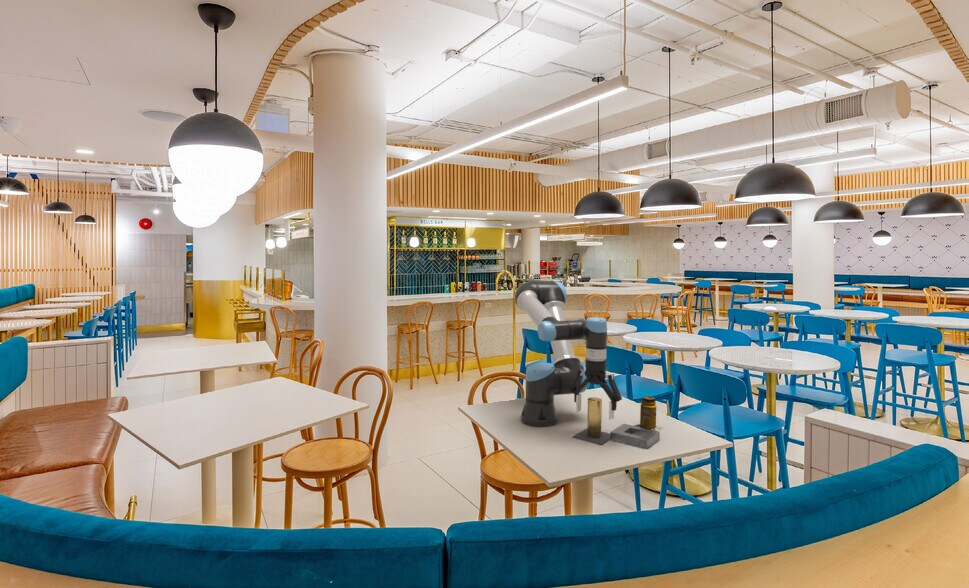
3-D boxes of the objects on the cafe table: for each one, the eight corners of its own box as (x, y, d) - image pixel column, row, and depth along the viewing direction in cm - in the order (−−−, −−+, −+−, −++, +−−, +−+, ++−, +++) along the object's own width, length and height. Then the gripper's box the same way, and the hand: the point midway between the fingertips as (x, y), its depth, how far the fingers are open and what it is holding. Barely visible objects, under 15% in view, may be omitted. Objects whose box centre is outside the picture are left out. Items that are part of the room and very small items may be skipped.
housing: (610, 439, 185) (610, 431, 184) (623, 431, 194) (623, 423, 194) (647, 449, 176) (647, 440, 175) (659, 439, 185) (659, 431, 185)
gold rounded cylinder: (584, 435, 187) (585, 399, 186) (591, 432, 191) (591, 396, 190) (597, 439, 184) (598, 402, 183) (603, 435, 188) (604, 399, 187)
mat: (572, 437, 187) (572, 436, 187) (587, 428, 196) (587, 427, 196) (601, 445, 179) (601, 444, 179) (616, 435, 188) (616, 434, 188)
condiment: (660, 428, 198) (661, 398, 197) (646, 432, 193) (647, 401, 192) (645, 422, 204) (646, 394, 203) (631, 426, 199) (632, 397, 198)
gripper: (561, 356, 190) (560, 410, 192) (623, 365, 175) (621, 424, 176) (571, 353, 196) (570, 405, 198) (631, 362, 180) (630, 419, 182)
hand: (594, 414), depth 187 cm, fingers open, 13 cm apart
